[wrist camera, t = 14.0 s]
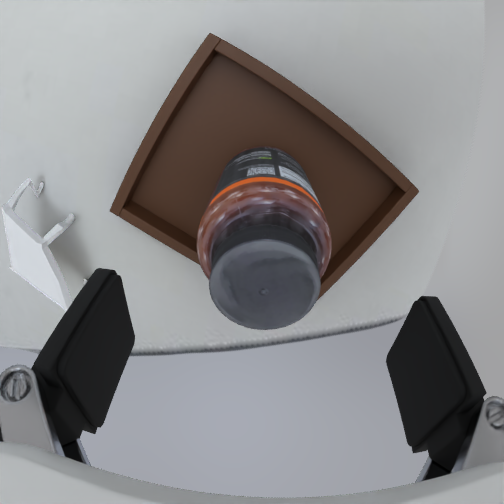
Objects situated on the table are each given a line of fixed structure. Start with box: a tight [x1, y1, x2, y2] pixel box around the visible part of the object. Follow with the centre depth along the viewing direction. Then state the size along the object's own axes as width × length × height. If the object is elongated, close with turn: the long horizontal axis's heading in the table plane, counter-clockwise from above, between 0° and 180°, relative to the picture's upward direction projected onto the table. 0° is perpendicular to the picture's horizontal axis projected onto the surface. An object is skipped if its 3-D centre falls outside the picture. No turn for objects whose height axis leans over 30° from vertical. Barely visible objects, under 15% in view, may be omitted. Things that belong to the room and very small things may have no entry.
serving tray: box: [110, 33, 419, 300], centre depth 20 cm, size 17×14×2 cm
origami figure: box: [2, 177, 87, 311], centre depth 22 cm, size 12×8×5 cm
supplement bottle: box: [197, 146, 332, 330], centre depth 16 cm, size 6×6×11 cm
